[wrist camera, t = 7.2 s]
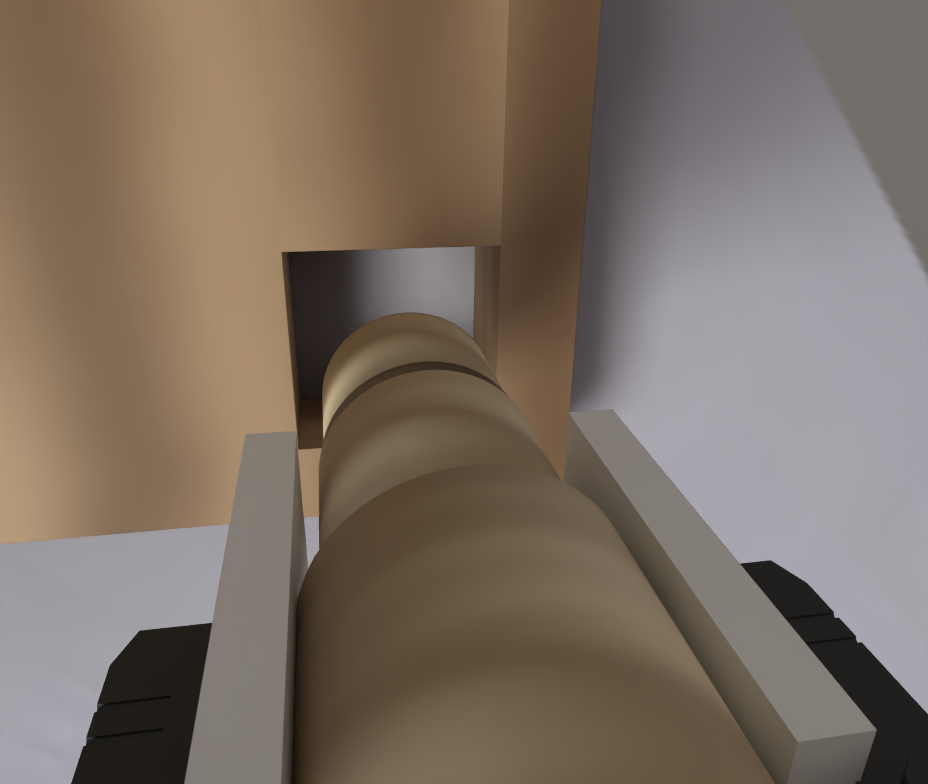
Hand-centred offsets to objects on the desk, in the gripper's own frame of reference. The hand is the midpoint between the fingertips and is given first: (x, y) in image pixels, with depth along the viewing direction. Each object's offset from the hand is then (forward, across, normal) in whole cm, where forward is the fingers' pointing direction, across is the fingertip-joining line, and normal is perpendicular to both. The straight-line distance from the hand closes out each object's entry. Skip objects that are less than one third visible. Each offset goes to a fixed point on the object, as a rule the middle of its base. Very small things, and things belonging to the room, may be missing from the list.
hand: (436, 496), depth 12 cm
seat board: (+10, -4, +2) cm, 10 cm away
